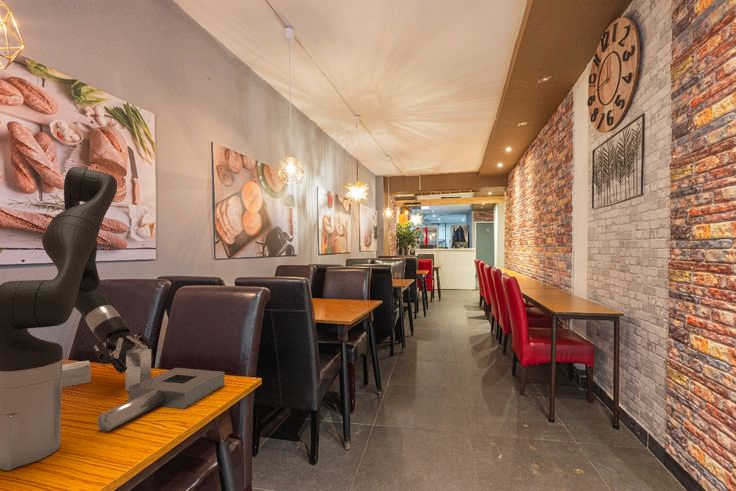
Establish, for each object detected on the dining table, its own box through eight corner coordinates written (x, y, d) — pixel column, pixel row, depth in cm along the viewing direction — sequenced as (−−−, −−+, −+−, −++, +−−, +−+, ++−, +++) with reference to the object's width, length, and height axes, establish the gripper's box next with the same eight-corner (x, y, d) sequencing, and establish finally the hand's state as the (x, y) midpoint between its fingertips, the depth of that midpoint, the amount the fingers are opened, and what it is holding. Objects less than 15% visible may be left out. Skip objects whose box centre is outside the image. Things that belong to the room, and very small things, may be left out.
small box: (55, 382, 102) (56, 365, 102) (89, 376, 108) (89, 359, 108) (55, 389, 97) (56, 371, 97) (91, 382, 102) (91, 365, 102)
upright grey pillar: (139, 392, 94) (140, 352, 94) (125, 390, 95) (126, 351, 96) (150, 387, 98) (151, 349, 98) (136, 386, 99) (137, 348, 99)
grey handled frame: (136, 436, 71) (136, 417, 71) (74, 427, 75) (74, 409, 75) (224, 385, 99) (224, 371, 99) (175, 380, 103) (175, 367, 103)
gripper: (89, 320, 92) (122, 365, 89) (136, 311, 106) (166, 350, 103) (74, 338, 93) (106, 384, 90) (122, 328, 107) (151, 367, 104)
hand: (138, 366), depth 97 cm, fingers open, 8 cm apart
